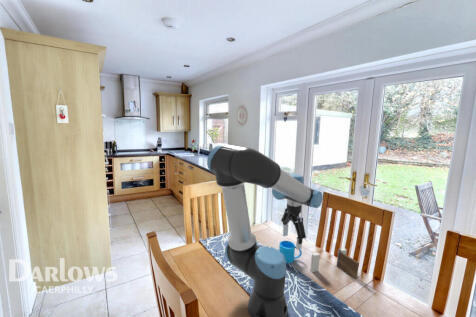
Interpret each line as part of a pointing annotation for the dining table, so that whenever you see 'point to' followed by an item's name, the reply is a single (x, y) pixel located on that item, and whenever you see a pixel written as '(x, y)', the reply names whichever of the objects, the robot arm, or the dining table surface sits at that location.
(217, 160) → the robot arm
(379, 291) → the dining table surface
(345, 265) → the dark brown rectangular slab
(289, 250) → the mug
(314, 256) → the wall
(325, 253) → the dining table surface
